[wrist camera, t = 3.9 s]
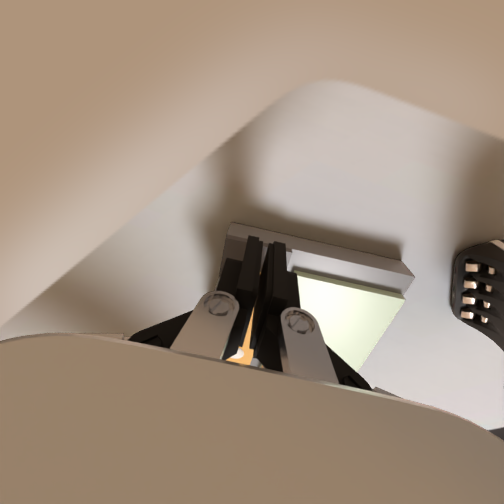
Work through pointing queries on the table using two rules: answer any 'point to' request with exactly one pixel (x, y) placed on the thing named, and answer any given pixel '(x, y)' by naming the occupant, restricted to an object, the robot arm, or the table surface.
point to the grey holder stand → (335, 288)
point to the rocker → (244, 348)
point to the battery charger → (481, 289)
